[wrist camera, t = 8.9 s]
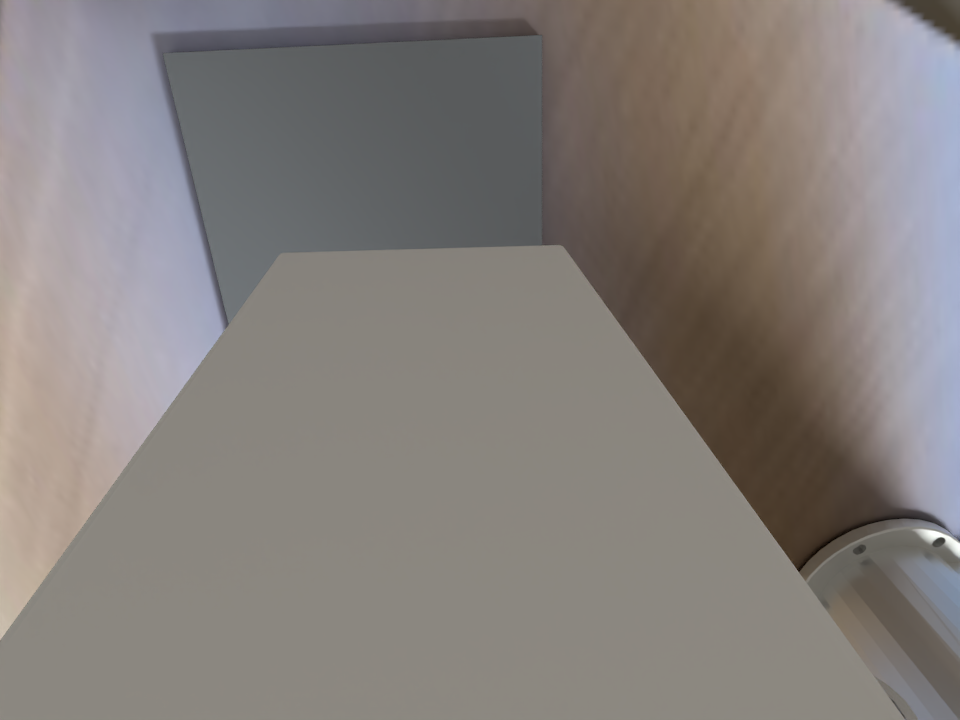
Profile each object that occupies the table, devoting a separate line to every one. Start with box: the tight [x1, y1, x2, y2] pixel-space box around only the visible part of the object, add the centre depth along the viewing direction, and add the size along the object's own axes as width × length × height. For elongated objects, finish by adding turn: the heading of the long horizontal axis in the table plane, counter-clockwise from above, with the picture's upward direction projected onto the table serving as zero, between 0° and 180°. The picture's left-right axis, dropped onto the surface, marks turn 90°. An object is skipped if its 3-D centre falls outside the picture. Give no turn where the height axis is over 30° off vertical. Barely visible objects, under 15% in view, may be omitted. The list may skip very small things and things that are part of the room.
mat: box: [163, 35, 542, 325], centre depth 30 cm, size 16×16×1 cm
